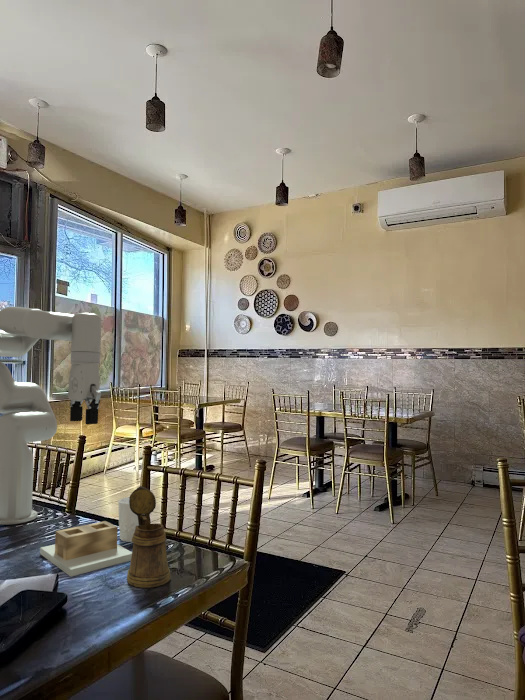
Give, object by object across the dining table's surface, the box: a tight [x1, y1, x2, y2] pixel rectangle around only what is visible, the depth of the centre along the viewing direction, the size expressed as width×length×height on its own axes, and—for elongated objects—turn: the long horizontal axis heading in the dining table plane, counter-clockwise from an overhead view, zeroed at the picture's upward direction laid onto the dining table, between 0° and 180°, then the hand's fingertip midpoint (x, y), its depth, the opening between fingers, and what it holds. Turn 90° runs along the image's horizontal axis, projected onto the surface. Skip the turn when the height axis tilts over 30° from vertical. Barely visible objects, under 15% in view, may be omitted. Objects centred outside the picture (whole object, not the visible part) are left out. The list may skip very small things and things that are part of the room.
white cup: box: [117, 496, 145, 543], centre depth 134 cm, size 8×8×10 cm
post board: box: [39, 543, 132, 578], centre depth 120 cm, size 18×15×6 cm
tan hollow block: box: [54, 520, 119, 560], centre depth 120 cm, size 12×6×5 cm, turn 133°
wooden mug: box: [126, 485, 172, 589], centre depth 110 cm, size 9×14×18 cm, turn 27°
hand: (83, 422), depth 135 cm, fingers open, 9 cm apart
